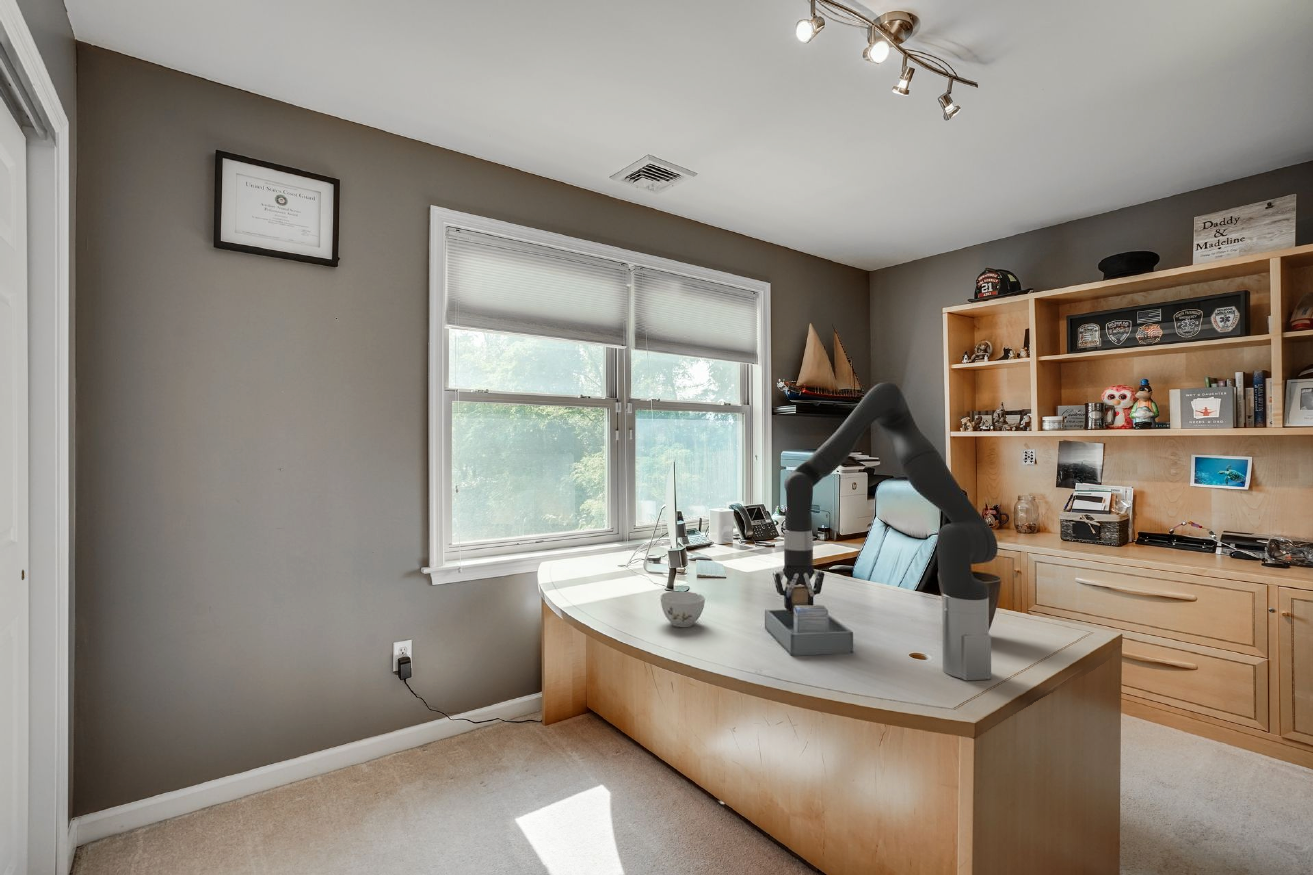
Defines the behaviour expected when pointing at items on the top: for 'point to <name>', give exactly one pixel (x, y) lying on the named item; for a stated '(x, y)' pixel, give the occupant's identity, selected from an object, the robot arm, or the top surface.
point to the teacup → (682, 607)
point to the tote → (808, 635)
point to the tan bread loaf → (798, 597)
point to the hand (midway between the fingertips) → (798, 609)
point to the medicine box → (810, 619)
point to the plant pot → (993, 587)
